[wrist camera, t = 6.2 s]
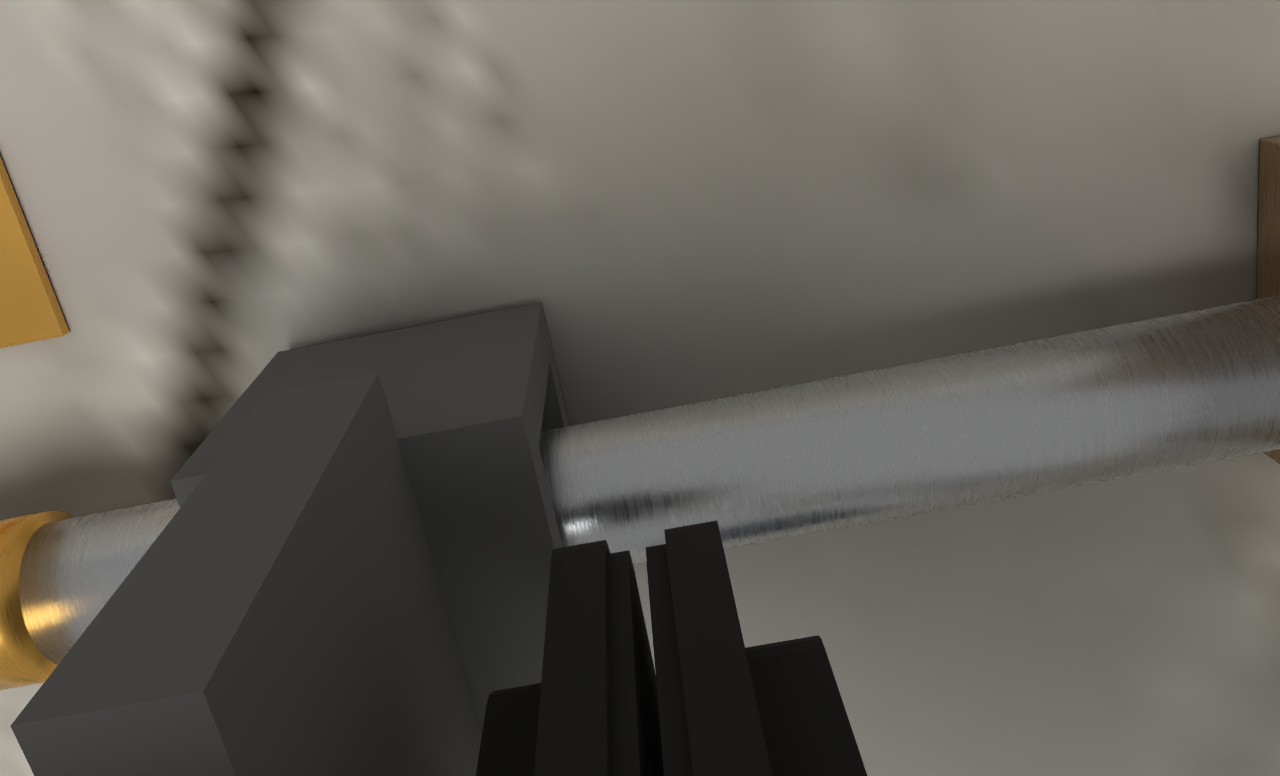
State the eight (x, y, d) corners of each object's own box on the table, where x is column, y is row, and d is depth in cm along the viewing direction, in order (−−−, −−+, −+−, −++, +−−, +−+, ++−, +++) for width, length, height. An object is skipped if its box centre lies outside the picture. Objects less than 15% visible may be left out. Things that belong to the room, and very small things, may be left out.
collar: (529, 249, 16) (430, 650, 7) (608, 600, 18) (619, 1281, 9) (262, 301, 16) (-211, 765, 7) (371, 643, 18) (130, 1358, 9)
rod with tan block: (1489, -163, 15) (1767, -205, 11) (1423, 595, 19) (1610, 737, 15) (-554, 239, 16) (-886, 317, 12) (-179, 875, 20) (-344, 1068, 16)
